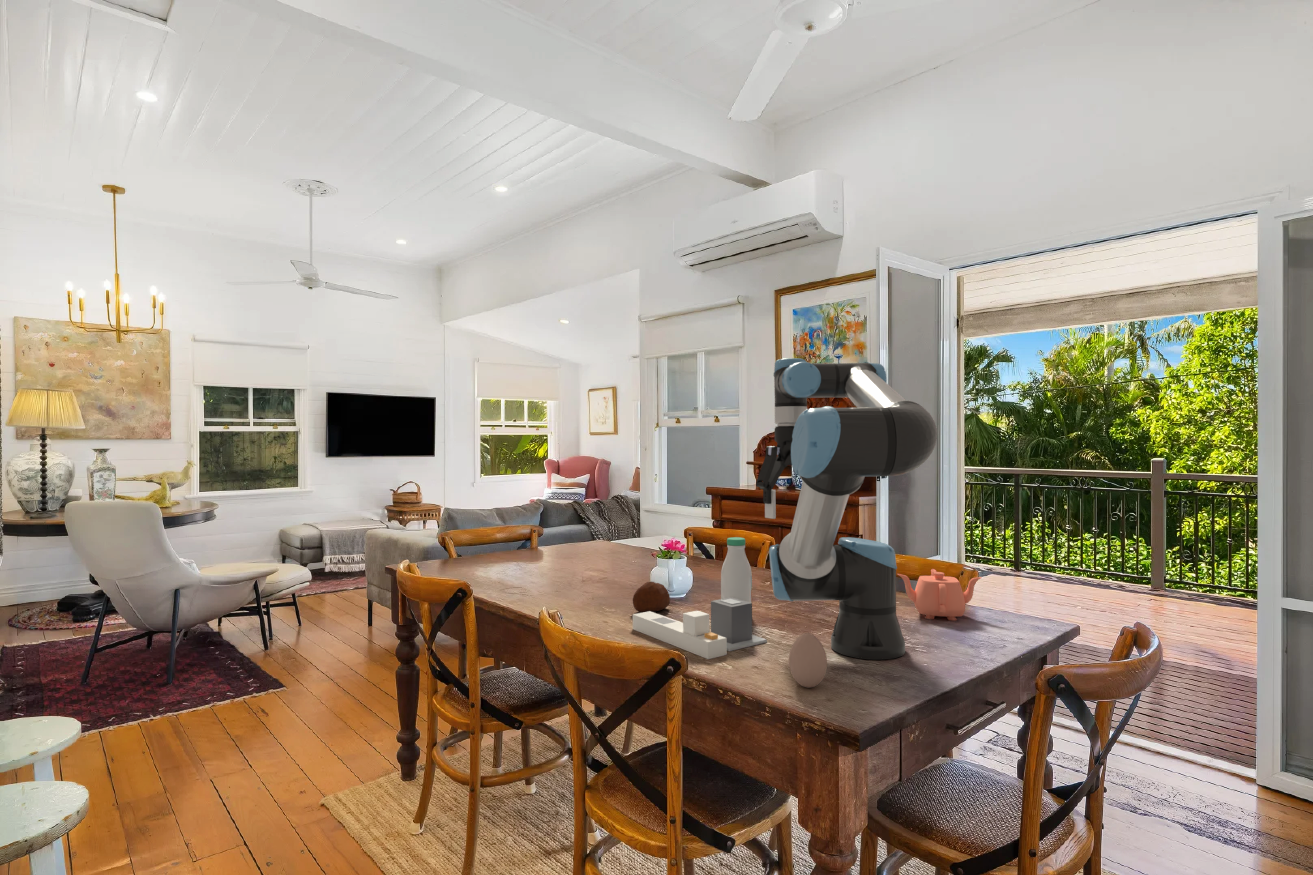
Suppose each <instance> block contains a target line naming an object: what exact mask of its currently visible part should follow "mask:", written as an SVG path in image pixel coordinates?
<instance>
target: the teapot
mask: <svg viewBox="0 0 1313 875" xmlns="http://www.w3.org/2000/svg"><path fill="white" fill-rule="evenodd" d="M930 572H931V574H930V575H919V577H918V579H917V583H916V586H915V589H913V588H912V585H911V584H912V583H911V580H910V578H909V577H908V576H907V575H905V574H901V573H897V575H898V576H899V577H900V578H902V580H903V583H904V586H905V587H904V588H905V592H906V595H907V597H908V599H910V600H911V601H912V602H913V604H914V607H915V608H916V611H917V613H919V614H921V615H923V616H925V617H924V619H926V620H934V619H935V617H946V618H947V620H948V621H952V622H953V621H957V617H962V616H964V614H965V611H966V605H967V604H969V603H970V601H971V600H972V598H973V596H974V590H975V585H976V583H977V582H978V581H979V580H980V579H982V578H983V577H982V576H977V577H973V578H971V579H970V580H969V581H968V586H967V588H966V590H965V591H963V588H962V586H961V583H960V581H959V580H958V579H957V578H956V577H953V576H945V573H944V572H941V571H937V570H936V569H934V568H932V569H931V570H930Z"/></svg>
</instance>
